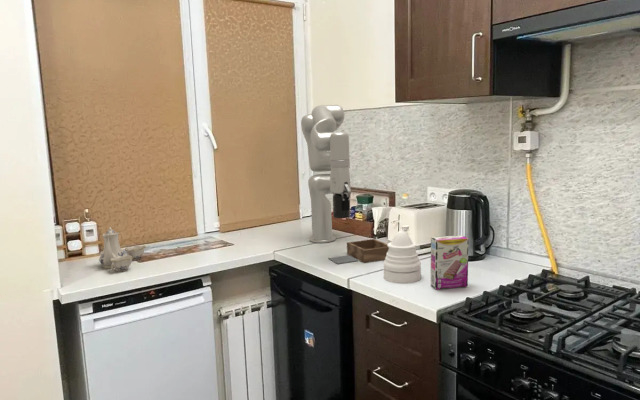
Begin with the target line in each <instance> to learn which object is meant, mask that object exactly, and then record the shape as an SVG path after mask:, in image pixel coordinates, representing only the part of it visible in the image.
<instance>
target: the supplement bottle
mask: <svg viewBox="0 0 640 400" xmlns="http://www.w3.org/2000/svg"><path fill="white" fill-rule="evenodd" d="M343 193H344V192H343ZM344 196H345V195H344ZM341 201H342V197H341V194H336V193H335V194H334V195H333V194H332V216H333V218H335V219H347V218H350V217H351V209H350V210H348V211H342V207H341ZM349 206H350V207H351V199H350V200H349Z"/></svg>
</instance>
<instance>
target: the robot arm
mask: <svg viewBox="0 0 640 400" xmlns="http://www.w3.org/2000/svg"><path fill="white" fill-rule="evenodd" d="M344 121H345V112H344V108H343V107H342V106H341V105H339V104H321V105H317V106H315V107H313V109H312V111H311V113H310V114H305V115H303V117H302V118H301V120H300V125H301V126H300V127H301V131H302V134H303V138H304V139H305V142H306V145H307V155H308V164H309V165H308V166H309V169H310V170H311V171H312V172H314V173H315V172H316V173H317V174H313V175H311V176H310V177H309V178H308V181H307V186H308V189H309V196H310V208H311V209H310V210H311V212H310V213H311V231H312V234H311V235H312V236H310V237H309V238H308V239H309V241H308V242H311V243H314V244H315V243H317V244H318V243H319V244H320V243H321V244H322V243H332V242H334V241H336V236H335V235H333V223H332V221H333V218H332V216H333V215H332V203H331V201H330V199H329V198H328V197H327V196H326V195H332V196H333V195H334V194H335V193H336V194H341V197H342V201H341V207H342V211H348V210H350V211H351V205H350V206H349V200H350V201H351V193H352V190H351V175H350V167H351V165H350V161H351V160H350V138H349V137H350V136H349V134H348V133H347V132H344V131H337V130H338V129H339V128H340V127H341V126H342V124H343V123H344ZM321 172H324V173H321ZM325 172H326V173H325ZM327 172H330V173H327ZM319 173H320V174H319ZM343 192H344V193H343ZM344 195H345V196H344Z"/></svg>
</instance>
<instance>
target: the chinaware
mask: <svg viewBox="0 0 640 400" xmlns="http://www.w3.org/2000/svg"><path fill="white" fill-rule="evenodd" d="M119 234H120V232H119V231H118V232H116V231H115V230H113V229H112V227H111V226H110V227H108V229H107V231H106V232H105V233H102V237H103V240H104V241H103V242H104V244H103V250H102V253H101V255H100V256H99V259H98V261H99V263H100V265H102V268H104V269H111V270H112V271H117V272H127V270H128V268H129V267H130V266H131V264H132V261H138V260H141V257H142V256H143V255H144V253H145V249H146V245H139V244H137V245H133V246H132V247H131V246H126V247H125V249H124V251H125V252H126V253H127V254H126V253H124V251H123V249H122V247H121V246H120V241H119Z"/></svg>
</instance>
